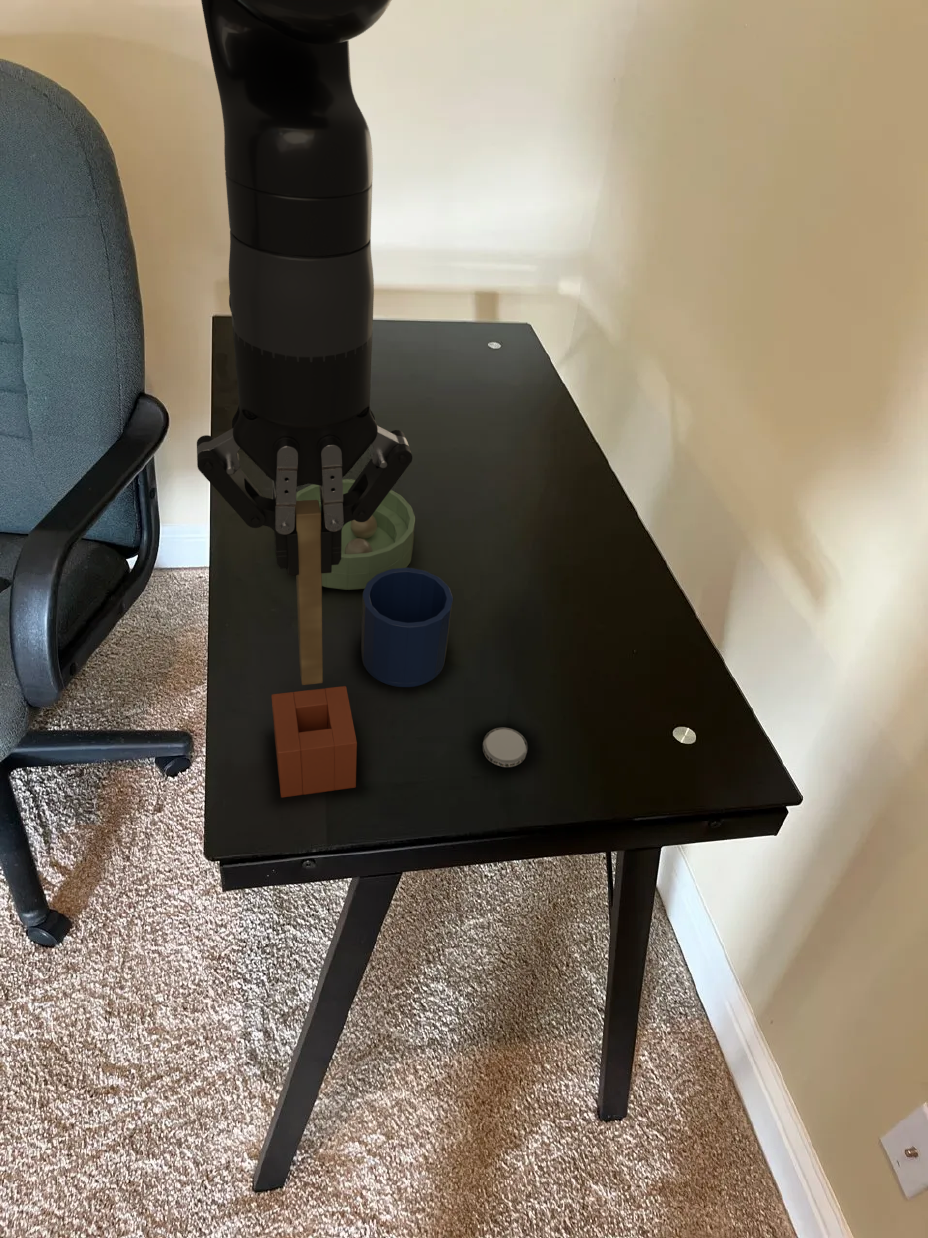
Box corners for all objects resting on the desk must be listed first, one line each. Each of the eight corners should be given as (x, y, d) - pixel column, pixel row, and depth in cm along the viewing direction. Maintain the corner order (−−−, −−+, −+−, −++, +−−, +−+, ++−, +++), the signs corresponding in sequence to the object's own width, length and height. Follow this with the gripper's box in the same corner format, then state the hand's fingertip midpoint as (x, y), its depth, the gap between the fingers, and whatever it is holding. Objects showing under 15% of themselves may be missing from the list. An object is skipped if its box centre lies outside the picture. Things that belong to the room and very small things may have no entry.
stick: (301, 685, 63) (295, 514, 52) (299, 670, 64) (293, 500, 53) (322, 683, 64) (321, 513, 53) (320, 668, 65) (318, 499, 54)
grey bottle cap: (534, 759, 74) (535, 755, 73) (494, 772, 72) (495, 767, 72) (514, 726, 76) (515, 722, 76) (475, 738, 75) (475, 734, 74)
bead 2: (346, 572, 89) (346, 550, 87) (342, 555, 91) (343, 533, 89) (374, 570, 90) (375, 548, 88) (369, 553, 92) (370, 531, 90)
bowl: (290, 599, 86) (288, 561, 83) (278, 518, 96) (276, 482, 92) (423, 588, 89) (426, 552, 86) (399, 511, 99) (401, 476, 96)
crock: (368, 692, 78) (371, 630, 72) (355, 632, 83) (357, 571, 78) (453, 682, 80) (461, 622, 74) (435, 624, 85) (441, 564, 80)
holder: (280, 798, 68) (277, 753, 64) (274, 739, 72) (271, 693, 68) (355, 787, 70) (356, 742, 66) (345, 731, 74) (345, 685, 70)
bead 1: (352, 545, 93) (352, 523, 91) (348, 529, 95) (348, 507, 93) (378, 543, 93) (379, 521, 91) (374, 527, 95) (375, 505, 93)
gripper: (170, 351, 41) (206, 612, 52) (440, 350, 44) (417, 595, 56) (171, 290, 46) (203, 539, 57) (413, 293, 49) (397, 528, 61)
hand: (309, 566), depth 56 cm, fingers closed on stick, 1 cm apart
